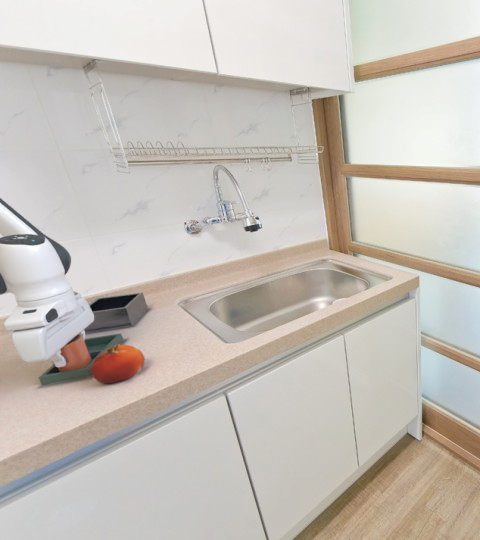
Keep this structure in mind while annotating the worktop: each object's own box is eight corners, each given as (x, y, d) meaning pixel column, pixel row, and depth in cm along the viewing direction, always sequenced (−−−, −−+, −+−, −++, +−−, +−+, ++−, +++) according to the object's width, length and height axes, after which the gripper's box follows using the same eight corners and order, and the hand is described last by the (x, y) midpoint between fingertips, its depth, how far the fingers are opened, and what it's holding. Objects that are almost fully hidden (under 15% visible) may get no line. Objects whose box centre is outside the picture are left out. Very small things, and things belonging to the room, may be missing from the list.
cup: (54, 379, 77) (40, 349, 75) (70, 364, 83) (57, 336, 80) (85, 373, 79) (73, 344, 76) (98, 359, 84) (87, 332, 82)
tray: (42, 386, 76) (38, 377, 75) (85, 347, 91) (81, 339, 90) (91, 378, 78) (87, 369, 77) (124, 341, 94) (121, 333, 93)
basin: (82, 334, 98) (74, 314, 96) (104, 316, 109) (97, 298, 107) (132, 327, 102) (126, 307, 99) (148, 309, 113) (142, 292, 111)
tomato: (153, 361, 84) (144, 334, 81) (140, 384, 76) (129, 354, 73) (108, 370, 81) (97, 342, 78) (90, 394, 73) (76, 364, 70)
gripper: (61, 290, 83) (80, 337, 88) (-4, 328, 65) (25, 385, 70) (91, 286, 85) (109, 333, 90) (36, 322, 67) (62, 379, 72)
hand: (72, 356), depth 80 cm, fingers closed on cup, 6 cm apart
